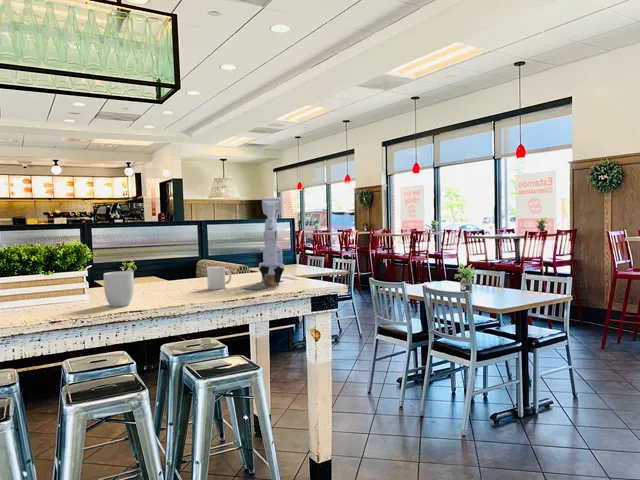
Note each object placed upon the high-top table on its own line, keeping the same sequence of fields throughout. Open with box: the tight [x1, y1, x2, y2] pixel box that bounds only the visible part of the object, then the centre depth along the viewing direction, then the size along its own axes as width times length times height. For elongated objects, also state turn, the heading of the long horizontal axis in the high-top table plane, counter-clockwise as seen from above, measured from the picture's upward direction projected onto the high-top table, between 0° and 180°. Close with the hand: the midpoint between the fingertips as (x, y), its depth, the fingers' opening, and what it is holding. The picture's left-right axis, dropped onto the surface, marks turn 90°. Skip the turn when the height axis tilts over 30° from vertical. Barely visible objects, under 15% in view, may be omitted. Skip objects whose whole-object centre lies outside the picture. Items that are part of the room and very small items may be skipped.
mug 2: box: [206, 265, 232, 291], centre depth 234 cm, size 12×8×10 cm
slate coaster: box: [244, 285, 269, 291], centre depth 230 cm, size 8×8×1 cm
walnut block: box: [264, 273, 280, 288], centre depth 236 cm, size 5×5×6 cm
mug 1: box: [103, 270, 135, 308], centre depth 194 cm, size 15×11×13 cm
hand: (271, 282), depth 236 cm, fingers open, 7 cm apart
